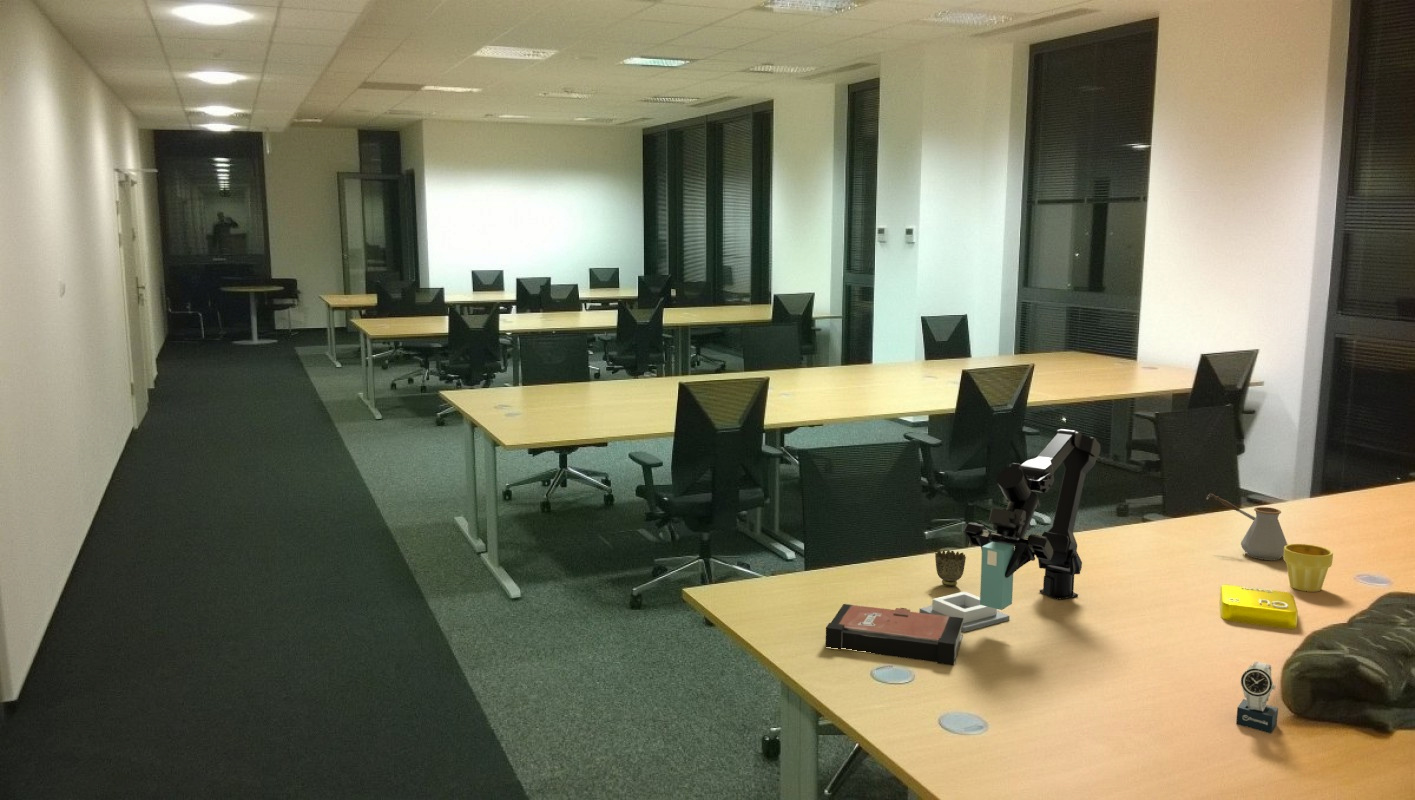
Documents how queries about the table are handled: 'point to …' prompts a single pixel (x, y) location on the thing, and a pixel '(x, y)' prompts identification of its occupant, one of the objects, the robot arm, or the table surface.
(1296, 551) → the plant pot
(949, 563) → the cup
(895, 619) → the book
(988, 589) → the teal rectangular block
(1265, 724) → the watch
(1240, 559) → the table surface
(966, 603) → the square socket base
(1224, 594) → the element tile
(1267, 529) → the coffee pot
